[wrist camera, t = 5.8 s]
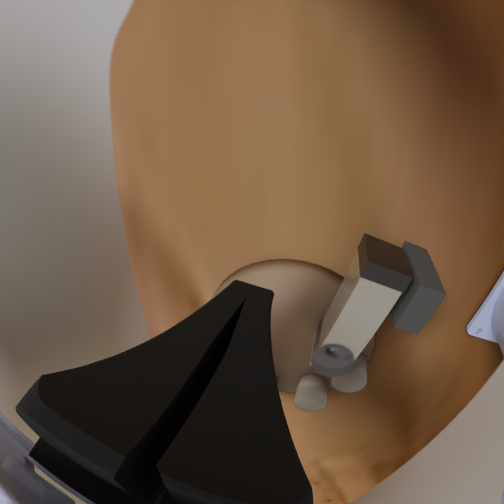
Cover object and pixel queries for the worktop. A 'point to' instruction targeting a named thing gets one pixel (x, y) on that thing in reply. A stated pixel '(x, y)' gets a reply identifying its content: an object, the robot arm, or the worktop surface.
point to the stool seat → (301, 327)
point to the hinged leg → (359, 305)
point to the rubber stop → (417, 292)
